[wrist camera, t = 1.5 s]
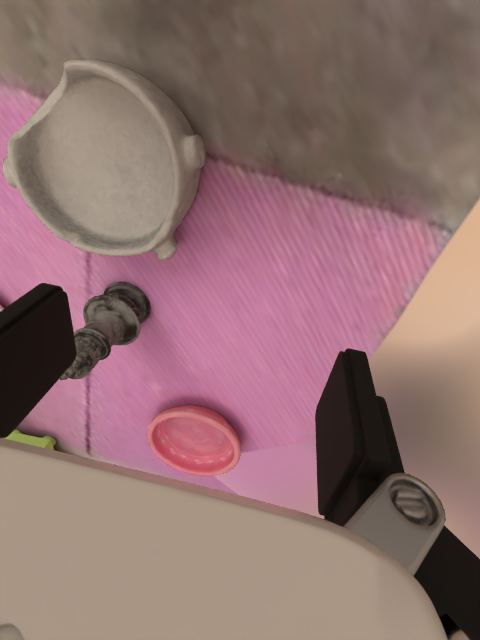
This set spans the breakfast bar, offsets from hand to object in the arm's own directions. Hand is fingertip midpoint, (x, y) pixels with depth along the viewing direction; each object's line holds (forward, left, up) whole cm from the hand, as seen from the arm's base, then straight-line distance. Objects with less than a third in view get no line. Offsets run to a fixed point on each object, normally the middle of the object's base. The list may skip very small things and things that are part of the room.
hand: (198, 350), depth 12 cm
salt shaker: (+13, -13, -21) cm, 28 cm away
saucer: (+31, -4, -21) cm, 38 cm away
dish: (-1, -12, -21) cm, 24 cm away
